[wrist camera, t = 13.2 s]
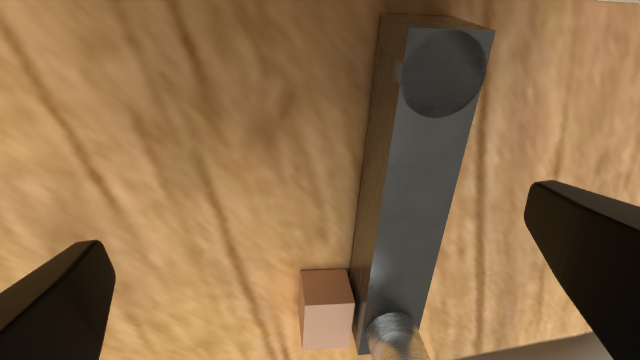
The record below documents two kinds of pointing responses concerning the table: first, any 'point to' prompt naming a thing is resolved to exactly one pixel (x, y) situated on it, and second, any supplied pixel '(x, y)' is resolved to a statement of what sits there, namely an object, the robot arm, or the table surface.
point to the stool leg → (411, 172)
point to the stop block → (325, 309)
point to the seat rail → (633, 0)
